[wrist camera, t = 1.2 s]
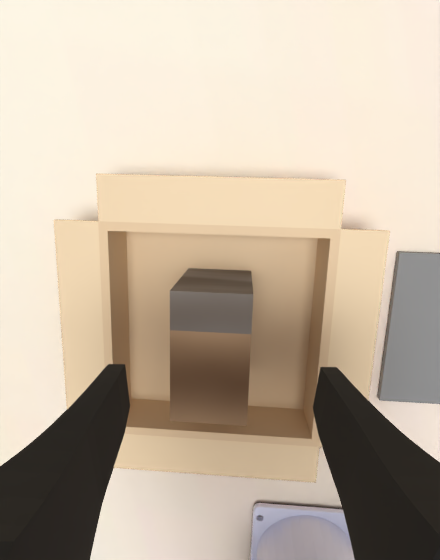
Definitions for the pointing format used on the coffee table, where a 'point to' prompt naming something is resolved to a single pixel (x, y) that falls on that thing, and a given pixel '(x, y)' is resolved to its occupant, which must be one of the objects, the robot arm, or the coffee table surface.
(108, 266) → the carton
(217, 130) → the coffee table surface
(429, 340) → the slate mat
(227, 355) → the walnut block
